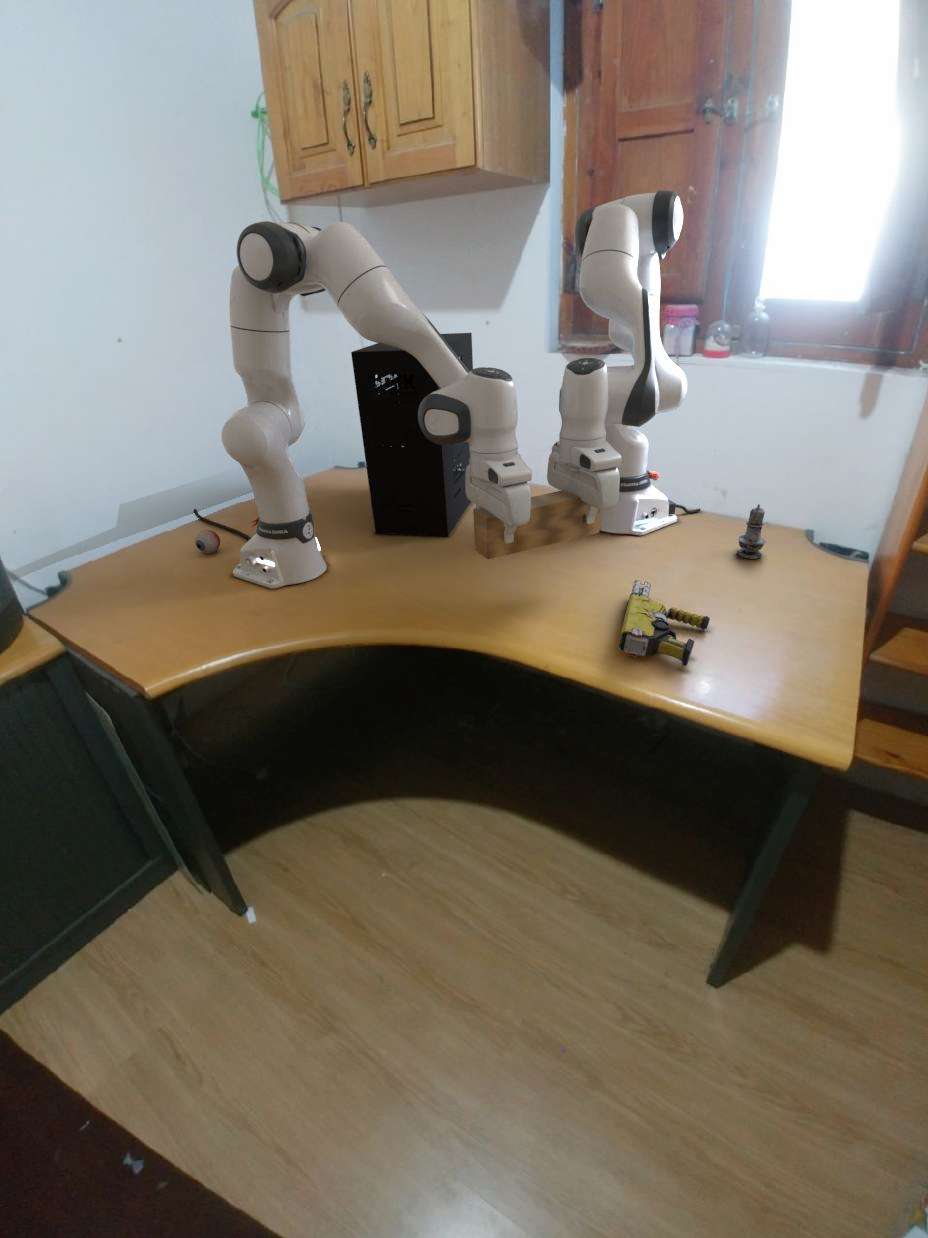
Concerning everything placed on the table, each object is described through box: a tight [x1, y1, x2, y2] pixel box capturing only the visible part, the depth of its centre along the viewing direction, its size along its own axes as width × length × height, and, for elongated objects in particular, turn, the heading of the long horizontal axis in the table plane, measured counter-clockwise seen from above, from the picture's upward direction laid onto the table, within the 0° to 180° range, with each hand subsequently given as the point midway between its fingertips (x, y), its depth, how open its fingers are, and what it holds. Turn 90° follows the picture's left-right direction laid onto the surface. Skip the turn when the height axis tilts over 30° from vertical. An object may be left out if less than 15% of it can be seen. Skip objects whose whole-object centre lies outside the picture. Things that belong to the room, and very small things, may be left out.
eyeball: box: [194, 529, 221, 554], centre depth 155 cm, size 6×6×6 cm
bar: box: [472, 490, 600, 561], centre depth 121 cm, size 26×6×8 cm, turn 115°
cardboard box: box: [350, 332, 474, 538], centre depth 164 cm, size 38×20×45 cm, turn 167°
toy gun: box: [617, 579, 711, 667], centre depth 111 cm, size 5×24×15 cm
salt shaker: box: [736, 503, 767, 560], centre depth 136 cm, size 6×6×12 cm
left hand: (496, 533), depth 117 cm, fingers open, 8 cm apart
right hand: (578, 517), depth 124 cm, fingers closed on bar, 6 cm apart
